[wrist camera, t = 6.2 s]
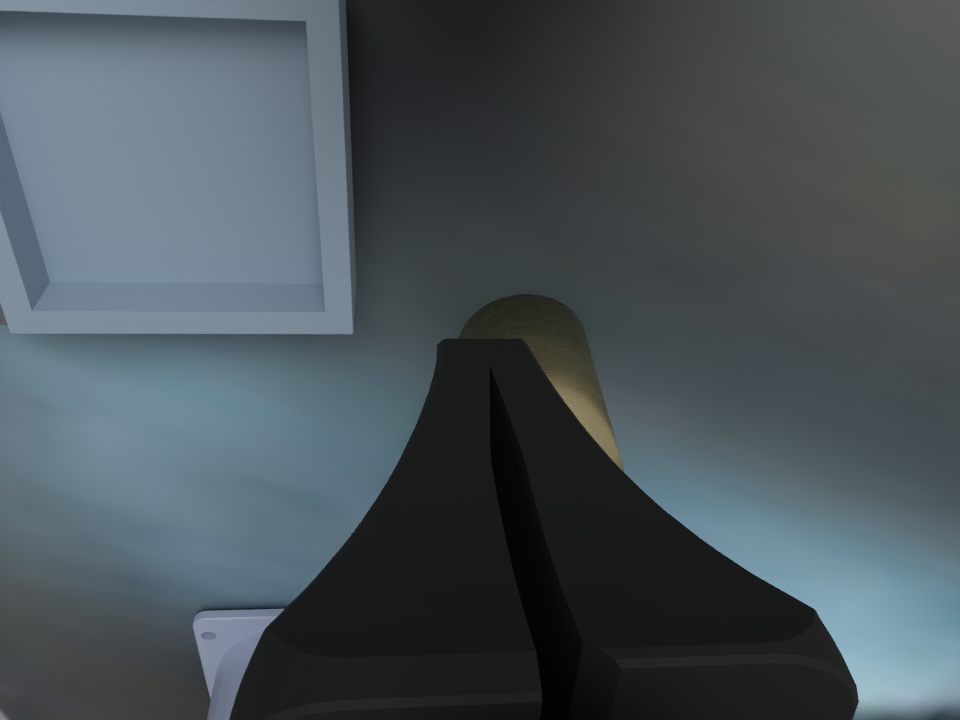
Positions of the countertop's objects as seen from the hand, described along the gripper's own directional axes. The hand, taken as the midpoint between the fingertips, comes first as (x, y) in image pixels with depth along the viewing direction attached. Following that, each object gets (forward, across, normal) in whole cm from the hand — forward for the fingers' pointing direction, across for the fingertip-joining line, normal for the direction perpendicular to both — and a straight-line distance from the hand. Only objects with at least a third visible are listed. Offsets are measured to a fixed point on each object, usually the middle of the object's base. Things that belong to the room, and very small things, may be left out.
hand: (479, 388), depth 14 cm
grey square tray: (+9, +6, -1) cm, 11 cm away
